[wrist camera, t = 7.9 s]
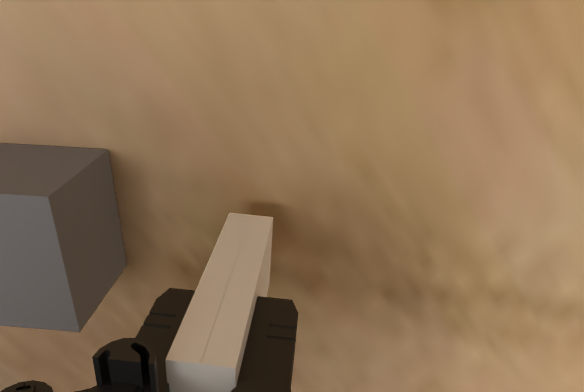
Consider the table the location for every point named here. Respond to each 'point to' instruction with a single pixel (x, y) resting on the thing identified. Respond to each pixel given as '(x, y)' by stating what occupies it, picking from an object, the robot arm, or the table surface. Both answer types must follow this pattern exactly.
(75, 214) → the block
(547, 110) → the table surface
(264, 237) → the robot arm
